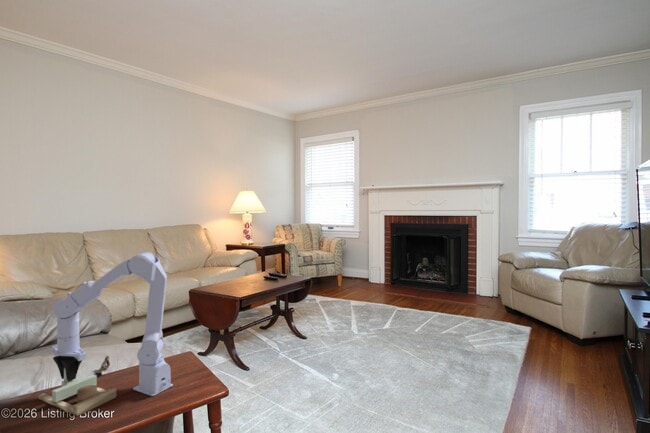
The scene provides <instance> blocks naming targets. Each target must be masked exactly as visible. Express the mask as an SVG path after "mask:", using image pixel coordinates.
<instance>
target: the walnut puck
mask: <svg viewBox="0 0 650 433" xmlns="http://www.w3.org/2000/svg"><path fill="white" fill-rule="evenodd" d="M97 387H98V386H97V385H96V386H95V385H88V386H84V387H82V388H80V389H78V391H77V394H76V395H77V396H76V398H77V403H80V402H82V401H84V400H86V399H88V398H91V397H93V396H95V395H97ZM77 403H76V404H77Z"/></svg>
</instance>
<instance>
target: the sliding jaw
mask: <svg viewBox="0 0 650 433" xmlns="http://www.w3.org/2000/svg"><path fill="white" fill-rule="evenodd" d="M97 380H98V376H96V374H91V375H88V376H86V377H83V378H81V379H76V378H75V379H73V380H71V381H67V378H66V370H65V368H64V379H63V381H61V386H60V387H58V388H55V389H53V390H51V396H52V401H54V402H58V401H63V400H65V399H68V398H70V397H73V396H74V395H77V391H78V389H80V388H82V387H84V386H88V385H95V386H97V385H98V382H97Z"/></svg>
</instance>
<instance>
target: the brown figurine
mask: <svg viewBox="0 0 650 433" xmlns="http://www.w3.org/2000/svg"><path fill="white" fill-rule="evenodd" d="M109 359H110V356H109V355H106V356H105V357H104V360H103V362H102V363H101V366H100V368H99V370H98V371H95V375H96V376H97V377H98V376H103V371H107V370H108V369H109V367H110V366H111V363H110V360H109Z"/></svg>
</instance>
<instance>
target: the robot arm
mask: <svg viewBox="0 0 650 433" xmlns="http://www.w3.org/2000/svg"><path fill="white" fill-rule="evenodd" d="M132 274H133V275H136V277H139V278H140V277H141V279H142V278H143V279H144V281H146V282H147V283H148V284H149V289H148V290H149V292H148V302H147V312H146V318H145V326H144V327H145V329H144V334H143V338H142V340H141V341H142V342H141V346H140V348H139V349H138V352H137V359H138V362H139V364H138V365H139V366H138V368H139V370H138V379H139V380H138V385H136V386H134V387H133V388H132V390H133V391H136V392H138V393H142V394H145V395H147V396H150V397H154V396H156V395H159V394H160V393H162V392H164V391H165V390H168V389H169V388H171V387H173V386H174V384H173V383H172V382H171V381H172V378H171V377H172V372H171V371H172V370H171V366H170V365H169V363H167V362H166V361H165V358H164V355H163V353H162V351H163V350H164V348H165V345H166V344H165V339H164V338H163V335H164V334H163V330H162V329H163V321H164V313H165V312H164V310H165V303H166V302H165V300H166V293H167V292H166V291H167V283H168V281H167V280H168V276H167V273H166V272H165V270H164V267H163V265H162V263H161V260H160V258H159V257H157V256H156V255H155V254H154V253H153V252H150V251H142V252H140V253H139V254H136V255H133V256H132V257H131V258H129V259H127V260H124V261H123V262H121V263H119V264H117V265H116V266H115V267H114V268H112V269H111V270H109V271H108V272H106V273H105V274H104V275H102V276H101V277H99V278H98V279H96V280H89V281H83V282H81V283H80V286H79V287H78V288H76V289H75V290H74V291H70V292H68V293H66V297H64V298H61V299H59V300H58V301H56V303H54V306H53V313H54V315H55V316H56V320H57V321H56V328H57V329H56V344H55V345H52V346H51V353H53V356H54V357H52V359H53V361H54V362H55V364H56V366H57V368H58V371H59V374H60V377H61V380H64V368H65V370H66V378H67V381H71V380H73V379H76V378H77V376H78V371H79V368H80V365H81V363H82V362H83V361H84V360H86V359H87V352H84V350H83V349H82V348H81V346H80V344H81V343H80V311H82V308H84V307H86V306H87V305H89V304H90V303H92V302H93V301H95V300H96V299H97V298H99V297H100V296H101V295H102V294H103V289H104V288H105V287H107V286H108V285H110V284H112V283H113V282H115V281H116V280H118V279H120V278H121V277H123V276H130V275H132Z"/></svg>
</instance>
